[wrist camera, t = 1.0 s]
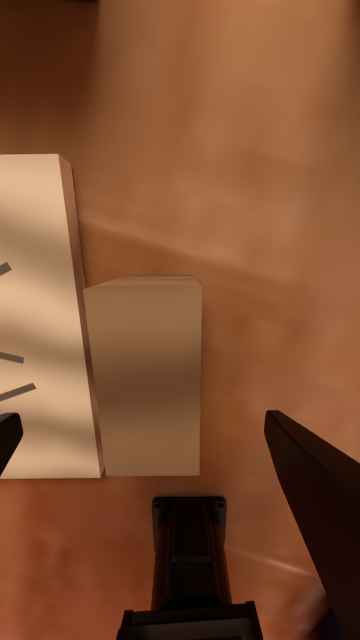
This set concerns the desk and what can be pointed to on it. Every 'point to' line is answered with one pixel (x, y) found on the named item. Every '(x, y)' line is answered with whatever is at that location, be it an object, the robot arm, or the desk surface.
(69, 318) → the birch board
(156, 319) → the block
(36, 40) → the desk surface
